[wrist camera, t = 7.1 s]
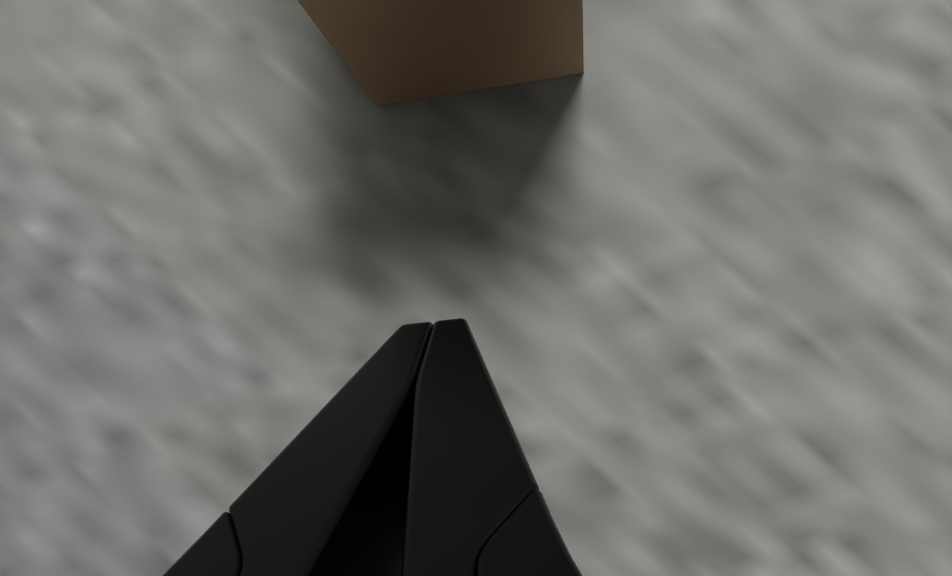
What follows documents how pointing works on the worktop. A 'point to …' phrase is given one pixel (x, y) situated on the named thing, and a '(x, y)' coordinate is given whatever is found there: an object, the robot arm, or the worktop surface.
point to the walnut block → (450, 43)
